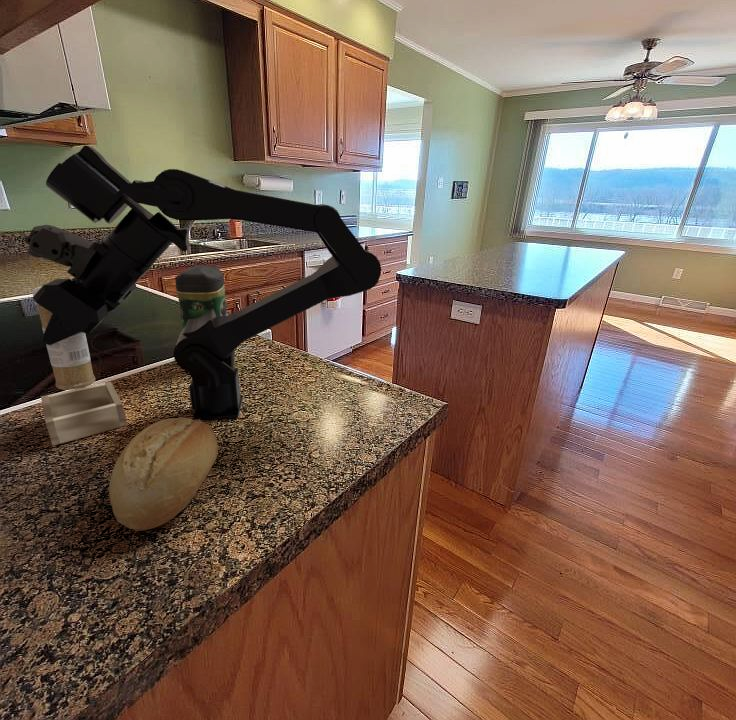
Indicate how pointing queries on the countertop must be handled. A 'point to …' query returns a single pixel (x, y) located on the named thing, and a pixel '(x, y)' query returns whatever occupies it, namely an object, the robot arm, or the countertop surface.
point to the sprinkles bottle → (68, 357)
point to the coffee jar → (200, 292)
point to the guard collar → (82, 412)
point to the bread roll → (161, 471)
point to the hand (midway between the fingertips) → (53, 336)
